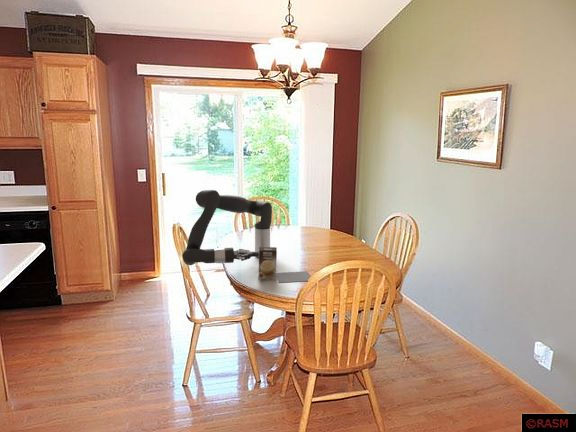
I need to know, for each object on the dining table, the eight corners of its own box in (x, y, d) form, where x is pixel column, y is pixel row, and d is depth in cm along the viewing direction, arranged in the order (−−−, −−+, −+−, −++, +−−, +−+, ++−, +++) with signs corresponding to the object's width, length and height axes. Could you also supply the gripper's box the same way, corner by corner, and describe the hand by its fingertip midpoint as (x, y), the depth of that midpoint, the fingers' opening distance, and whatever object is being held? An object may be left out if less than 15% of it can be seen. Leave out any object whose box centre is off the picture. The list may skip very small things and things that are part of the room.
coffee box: (258, 280, 208) (258, 250, 205) (258, 276, 214) (258, 246, 211) (276, 280, 208) (276, 250, 205) (276, 276, 215) (276, 246, 211)
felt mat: (274, 273, 219) (274, 272, 219) (307, 271, 222) (307, 271, 222) (279, 282, 205) (279, 282, 205) (313, 280, 209) (314, 280, 209)
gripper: (224, 252, 197) (260, 250, 201) (223, 244, 210) (257, 243, 213) (224, 267, 199) (260, 265, 202) (223, 258, 211) (257, 257, 215)
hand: (258, 253), depth 208 cm, fingers closed
